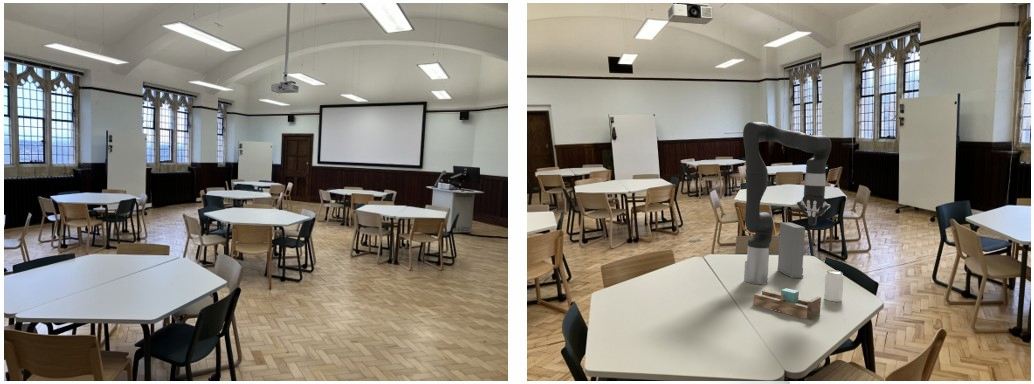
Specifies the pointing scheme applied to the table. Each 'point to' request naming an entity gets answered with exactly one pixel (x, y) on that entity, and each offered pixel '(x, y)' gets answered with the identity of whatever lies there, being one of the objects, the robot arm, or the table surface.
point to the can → (833, 286)
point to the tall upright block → (791, 249)
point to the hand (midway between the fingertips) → (812, 225)
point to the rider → (790, 295)
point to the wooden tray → (788, 305)
